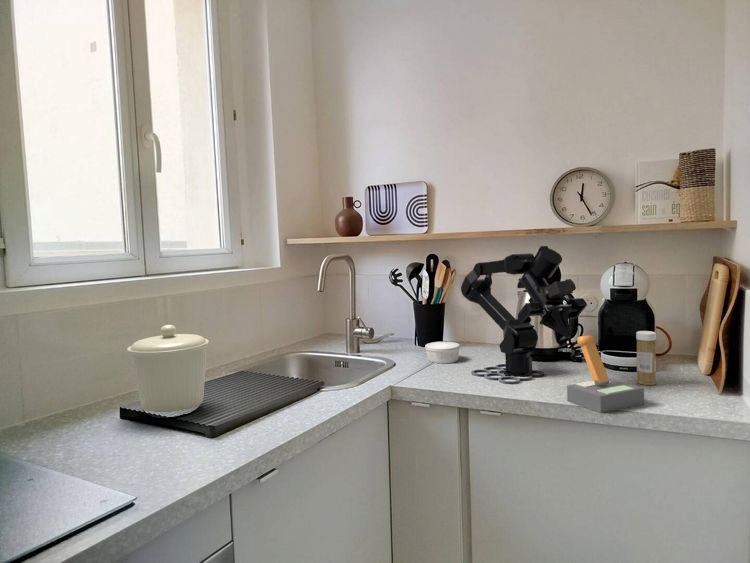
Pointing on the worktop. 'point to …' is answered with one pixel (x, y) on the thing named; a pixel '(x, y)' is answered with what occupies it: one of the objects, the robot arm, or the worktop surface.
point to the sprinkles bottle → (646, 357)
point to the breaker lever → (593, 360)
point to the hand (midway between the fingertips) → (569, 337)
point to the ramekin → (442, 352)
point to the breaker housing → (605, 395)
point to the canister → (169, 370)
